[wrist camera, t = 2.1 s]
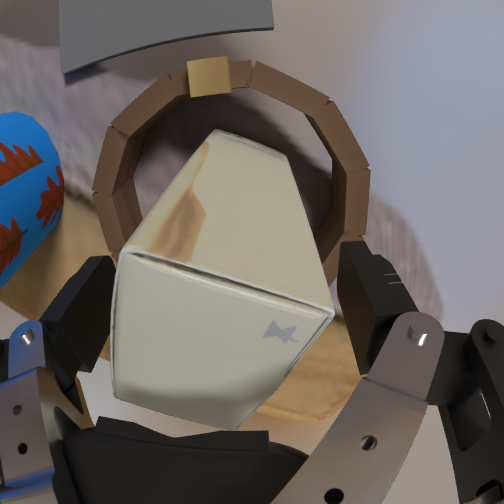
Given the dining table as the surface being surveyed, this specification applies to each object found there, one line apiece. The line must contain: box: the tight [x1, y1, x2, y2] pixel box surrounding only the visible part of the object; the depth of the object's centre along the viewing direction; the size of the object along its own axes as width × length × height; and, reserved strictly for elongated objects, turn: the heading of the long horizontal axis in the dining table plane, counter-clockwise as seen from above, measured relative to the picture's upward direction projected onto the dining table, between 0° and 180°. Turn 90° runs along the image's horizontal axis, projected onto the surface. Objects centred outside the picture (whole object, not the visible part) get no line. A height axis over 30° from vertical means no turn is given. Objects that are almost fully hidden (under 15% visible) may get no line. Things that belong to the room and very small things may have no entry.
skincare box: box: [110, 129, 335, 430], centre depth 12 cm, size 6×4×12 cm
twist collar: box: [92, 56, 371, 287], centre depth 15 cm, size 14×14×4 cm
